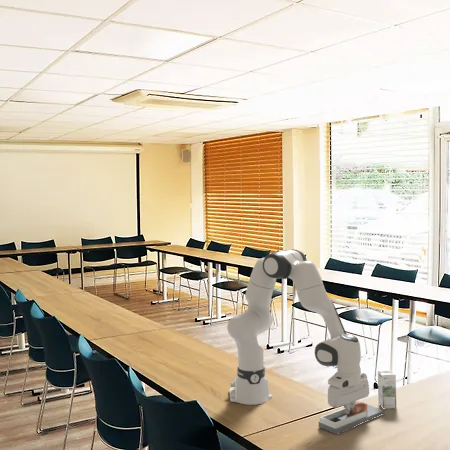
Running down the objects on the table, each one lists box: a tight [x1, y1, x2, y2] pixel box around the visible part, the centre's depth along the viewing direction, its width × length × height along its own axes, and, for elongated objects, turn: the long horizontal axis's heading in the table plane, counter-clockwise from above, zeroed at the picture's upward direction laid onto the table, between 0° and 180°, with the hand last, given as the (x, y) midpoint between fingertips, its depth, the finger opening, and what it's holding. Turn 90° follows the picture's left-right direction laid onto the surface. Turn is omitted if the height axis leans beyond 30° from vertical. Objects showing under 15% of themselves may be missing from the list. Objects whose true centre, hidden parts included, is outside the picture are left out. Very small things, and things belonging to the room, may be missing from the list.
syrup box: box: [377, 370, 397, 409], centre depth 233 cm, size 6×6×14 cm
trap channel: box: [318, 403, 385, 435], centre depth 220 cm, size 28×9×4 cm, turn 128°
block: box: [348, 400, 367, 416], centre depth 222 cm, size 6×5×4 cm
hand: (349, 412), depth 219 cm, fingers closed
